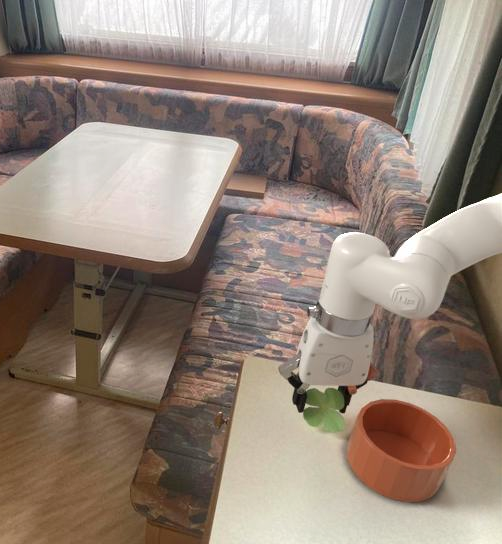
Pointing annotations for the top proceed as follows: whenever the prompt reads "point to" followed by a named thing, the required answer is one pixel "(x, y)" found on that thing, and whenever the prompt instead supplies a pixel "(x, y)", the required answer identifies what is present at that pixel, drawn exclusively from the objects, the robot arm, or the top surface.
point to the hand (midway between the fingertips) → (319, 406)
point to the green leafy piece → (325, 409)
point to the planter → (400, 450)
